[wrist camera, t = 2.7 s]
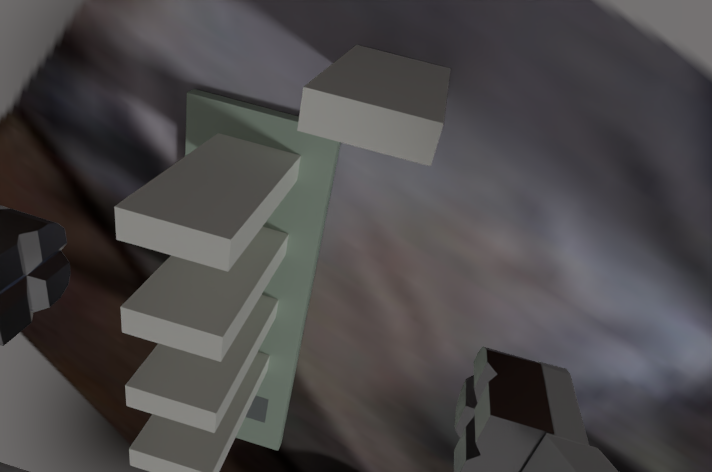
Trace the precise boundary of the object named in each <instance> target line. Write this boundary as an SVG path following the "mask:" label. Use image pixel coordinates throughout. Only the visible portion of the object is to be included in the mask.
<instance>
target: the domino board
mask: <svg viewBox="0 0 712 472" xmlns="http://www.w3.org/2000/svg"><path fill="white" fill-rule="evenodd" d="M298 121H299V117H298V116H295V115H291V114H287V113H283V112H280V111H276V110H272V109H268V108H264V107H261V106H257V105H253V104H249V103H246V102H242V101H238V100H234V99H231V98H227V97H223V96H219V95H216V94H212V93H208V92H204V91H201V90H197V89H193V90H191V91H189V92H187V107H186V149H185V156H186V155H188V154H189V153H191V152H192V151H193V150H195V149H196V148H198V147H199V146H201V145H202V144H203V143H205V142H206V141H208V140H209V139H210V138H212V137H213V136H215V135H216V134H217V133H220V134H224V135H227V136H231V137H235V138H238V139H242V140H246V141H249V142H253V143H257V144H261V145H264V146H268V147H272V148H275V149H279V150H283V151H286V152H290V153H294V154H297V155H301V158H300V165H299V171H298V178H297V181H296V183H295V184H294V185H293V187H292V188H291V189H290V191H289V192H288V193H287V195H286V196H285V197H284V199H283V200H282V201H281V202H280V204H279V205H278V206H277V208H276V209H275V210H274V212H273V213H272V214H271V216H270V217H269V218H268V220H267V221H266V222H265V224H264V225H263V226H262V227H266V228H270V229H273V230H277V231H280V232H284V233H287V234H289V236H288V242H287V249H286V255H285V257H284V258H283V260H282V262H281V263H280V265H279V267H278V268H277V270H276V271H275V273H274V275H273V276H272V278H271V280H270V281H269V283H268V285H267V286H266V288H265V290H264V291H263V293H262V295H264V296H268V297H271V298H275V299H278V307H277V313H276V318H275V320H274V322H273V324H272V326H271V327H270V329H269V331H268V333H267V335H266V337H265V339H264V341H263V343H262V344H261V346H260V348H259V350H258V352H261V353H264V354H267V355H270V358H269V364H268V371H267V373H266V375H265V377H264V379H263V381H262V383H261V385H260V387H259V389H258V391H257V394H256V396H255V398H254V400H253V402H252V404H251V406H250V408H249V410H248V412H247V414H246V417H245V419H244V421H243V423H242V425H241V427H240V429H239V431H238V433H237V435H236V437H235V438H238V439H242V440H245V441H248V442H251V443H255V444H258V445H261V446H264V447H267V448H271V449H274V450H277V451H278V450H279V447H280V445H281V442H282V437H283V432H284V427H285V422H286V417H287V412H288V407H289V402H290V397H291V392H292V386H293V381H294V376H295V371H296V366H297V361H298V356H299V351H300V346H301V341H302V336H303V331H304V326H305V321H306V316H307V311H308V305H309V300H310V295H311V290H312V285H313V280H314V275H315V270H316V265H317V260H318V255H319V250H320V245H321V240H322V235H323V230H324V224H325V219H326V214H327V209H328V204H329V199H330V194H331V189H332V184H333V179H334V174H335V169H336V164H337V159H338V154H339V149H340V143H341V142H338V141H334V140H330V139H326V138H323V137H319V136H315V135H311V134H308V133H304V132H300V131H297V128H298Z"/></svg>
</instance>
